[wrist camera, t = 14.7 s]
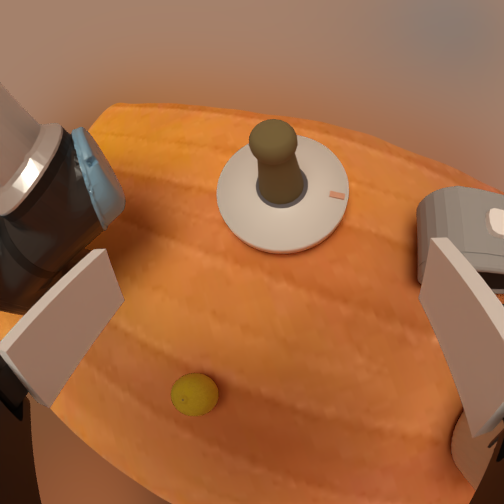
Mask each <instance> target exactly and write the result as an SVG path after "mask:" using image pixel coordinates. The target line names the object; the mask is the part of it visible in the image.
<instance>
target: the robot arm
mask: <svg viewBox="0 0 504 504" xmlns="http://www.w3.org/2000/svg"><path fill="white" fill-rule="evenodd" d="M125 202H126V201H125V195H124V192H123V189H122V187H121V185H120V183H119V181H118V179H117V177H116V175H115V173H114V171H113V169H112V168H111V166H110V164H109V163H108V161H107V159H106V157H105V156H104V154H103V152H102V151H101V149H100V148H99V146H98V145H97V143H96V142H95V140H94V139H93V137H92V136H91V135H90V133H89V132H88V131H86V129H85V128H83V127H79V128H77V129H74V130H73V131H72V133H71V134H69V133H68V132H66V130H65V129H64V128H63V127H62V126H60V125H59V124H58V123H51V124H44V125H42V124H38V122H37V121H36V120H35V119H34V118H33V117H32V116H31V115H30V114H29V113H28V112H27V111H26V110H25V109H24V108H23V107H22V106H21V105H20V104H19V102H18V101H17V100H16V99H15V98H14V97H13V96H12V95H11V94H10V93H9V92H8V91H7V89H5V87H4V86H3V85H2V84H1V83H0V311H4V312H8V313H13V314H18V315H23V317H22V318H21V319H20V320H19V321H18V322H17V324H16V325H15V326H14V327H13V328H12V329H11V330H10V331H9V332H8V333H7V335H6V336H5V337H4V338H3V339H2V340H1V341H0V504H41V500H40V495H39V490H38V484H37V478H36V472H35V465H34V457H33V448H32V437H31V436H32V435H31V421H30V420H31V418H30V401H29V400H28V398H27V397H26V395H27V393H28V392H29V393H30V394H31V395H32V397H33V398H34V399H35V400H36V401H37V402H38V403H40V404H42V405H44V406H46V407H48V408H50V407H51V406H52V404H53V402H54V401H55V399H56V398H57V396H58V395H59V393H60V391H61V390H62V388H63V387H64V385H65V384H66V382H67V381H68V379H69V378H70V376H71V375H72V373H73V372H74V370H75V369H76V367H77V366H78V364H79V363H80V361H81V360H82V358H83V357H84V355H85V354H86V353H87V351H88V350H89V348H90V347H91V345H92V344H93V343H94V341H95V340H96V338H97V337H98V336H99V334H100V333H101V331H102V330H103V329H104V327H105V326H106V325H107V323H108V322H109V321H110V319H111V318H112V317H113V315H114V314H115V312H116V311H117V310H118V308H119V307H120V306H121V305H122V303H123V302H124V301H125V300H124V298H123V295H122V292H121V290H120V287H119V285H118V282H117V279H116V276H115V274H114V271H113V268H112V265H111V262H110V259H109V256H108V253H107V250H106V249H93V250H92V251H89V250H87V249H85V247H86V246H87V245H88V244H89V243H90V242H91V241H92V240H94V239H95V238H96V237H97V236H98V235H99V234H100V233H101V232H102V231H105V230H106V229H107V226H108V225H109V224H110V223H111V222H112V221H113V220H114V219H115V218H116V217H117V216H119V215H120V214H121V213H122V211H123V210H124V207H125ZM419 300H420V302H421V304H422V307H423V309H424V311H425V313H426V315H427V317H428V319H429V321H430V324H431V326H432V328H433V330H434V332H435V335H436V337H437V339H438V342H439V344H440V346H441V349H442V351H443V353H444V356H445V358H446V361H447V363H448V366H449V369H450V371H451V374H452V376H453V379H454V382H455V385H456V387H457V390H458V393H459V396H460V399H461V402H462V405H463V408H464V411H465V414H466V418H467V421H468V424H469V428H470V431H471V435H472V438H474V437H477V436H480V435H482V434H485V433H488V432H491V431H493V429H494V428H495V427H496V426H497V425H498V424H499V423H500V422H501V421H502V420H503V423H504V304H502V303H501V302H500V301H499V299H498V298H497V297H496V295H495V294H494V293H493V291H492V290H491V289H490V287H489V286H488V285H487V284H486V282H485V281H484V280H483V278H482V277H481V276H480V275H479V273H478V272H477V271H476V270H475V269H474V267H473V266H472V265H471V264H470V263H469V261H468V260H467V259H466V258H465V257H464V256H463V255H462V253H461V252H460V251H459V250H458V249H457V248H456V247H455V246H454V244H453V243H452V242H451V241H450V240H449V239H448V238H431V239H430V245H429V251H428V256H427V262H426V267H425V272H424V277H423V281H422V286H421V290H420V294H419ZM496 442H497V444H496V446H495V448H494V449H493V450H494V452H493V454H492V457H491V459H490V461H489V464H488V466H487V469H486V471H485V473H484V475H483V477H482V480H481V482H480V484H479V486H478V488H477V490H476V492H475V494H474V496H473V498H472V499H471V501H470V503H469V504H504V429H503V430H502V431H501V432H500V433H499V434H498V435H497V436H496V437H495V438H494V439H493V440H492V441H491V442H490V443H489V445H488V448H491V447H492V446H493V445H494V444H495V443H496Z"/></svg>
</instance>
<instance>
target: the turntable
mask: <svg viewBox="0 0 504 504" xmlns="http://www.w3.org/2000/svg"><path fill="white" fill-rule="evenodd" d="M297 141H298V146H297V149H296V152H295V155H296V158H297V161H298V165H299V168H300V171H301V174H302V177H303V182H304V187H303V191H302V193H301V194H300V196H299V197H298V198H297V199H296V200H294V201H293V202H290V203H287V204H274V203H271V202H269V201H267V200H266V199H265V198H264V197H263V196H262V195H261V193H260V190H259V180H258V163H257V159H256V157H255V156H254V155H253V154H252V152H251V150H250V147H249V144H247V145H245V146H244V147H242V148H241V149H240V150H238V151H237V152H236V153H235V154H234V155H233V156H232V157H231V158H230V160H229V161H228V162H227V163H226V165H225V167H224V168H223V170H222V172H221V175H220V177H219V181H218V185H217V202H218V207H219V210H220V213H221V215H222V217H223V219H224V221H225V222H226V224H227V225H228V227H229V228H230V230H231V231H232V232H233V233H234V234H235V235H236V237H238V238H239V239H240V240H241V241H242V242H244V243H246V244H247V245H249V246H251V247H253V248H255V249H257V250H260V251H264V252H268V253H274V254H289V253H296V252H301V251H304V250H307V249H310V248H312V247H314V246H316V245H318V244H319V243H321V242H322V241H324V240H325V239H326V238H327V237H329V236H330V235H331V234H332V233H333V232H334V230H335V229H336V228H337V227H338V225H339V223H340V222H341V220H342V218H343V215H344V213H345V209H346V205H347V201H348V195H349V184H348V179H347V175H346V172H345V170H344V167H343V166H342V164H341V162H340V161H339V159H338V158H337V157H336V156H335V155H334V154H333V153H332V152H331V151H330V150H329V149H328V148H327V147H325V146H324V145H322V144H321V143H319V142H317V141H315V140H312V139H310V138H307V137H304V136H299V135H297Z"/></svg>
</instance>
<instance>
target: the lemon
mask: <svg viewBox="0 0 504 504" xmlns="http://www.w3.org/2000/svg"><path fill="white" fill-rule="evenodd" d="M218 397H219V394H218V388H217V386H216V384H215V382H214V381H213V380H212V379H211V378H209V377H208V376H206V375H203V374H200V373H191V374H186V375H184V376H182V377H181V378H179V379H178V380H177V381H176V382H175V384H174V385H173V387H172V390H171V400H172V403H173V405H174V406H175V408H176V409H177V410H178V411H179V412H181V413H183V414H185V415H188V416H201V415H204V414H206V413H208V412H210V411H211V410H212V409H213V408H214V407H215V405H216V403H217V401H218Z"/></svg>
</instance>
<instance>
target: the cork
mask: <svg viewBox="0 0 504 504" xmlns="http://www.w3.org/2000/svg"><path fill="white" fill-rule="evenodd" d="M297 146H298V141H297V135H296V133H295V131H294V129H293V128H292V127H291V126H290V125H289V124H288V123H286V122H284V121H282V120H276V119H271V120H266V121H263V122H261V123H259V124H258V125H256V126H255V128H254V129H253V130H252V132H251V134H250V136H249V147H250V150H251V152H252V154H253V155H254V156H255V157H256V159H257V163H258V180H259V190H260V193H261V195H262V196H263V197H264V198H265V199H266V200H267V201H269V202H271V203H274V204H287V203H290V202H293V201H294V200H296V199H297V198H298V197H299V196H300V194H301V193H302V191H303V187H304V182H303V177H302V174H301V171H300V168H299V165H298V161H297V158H296V155H295V152H296V149H297Z"/></svg>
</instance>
